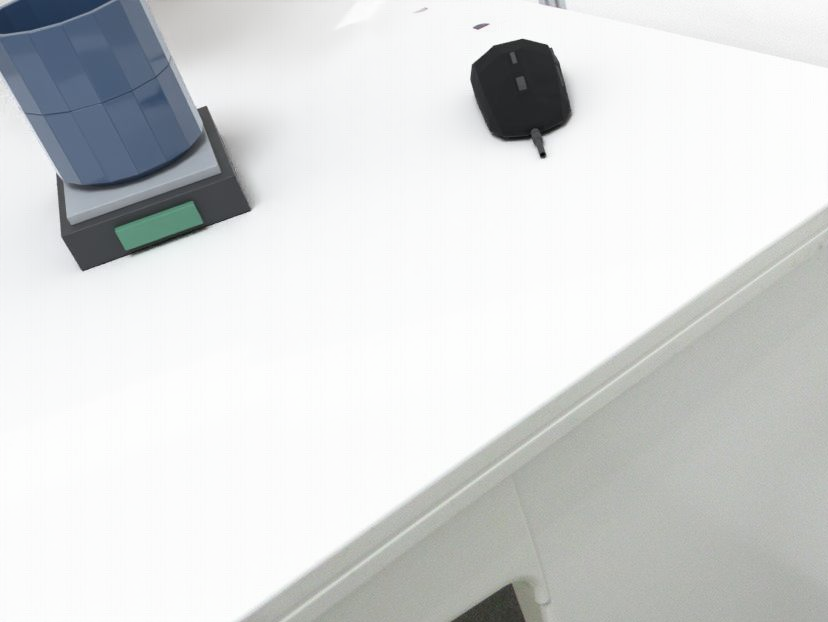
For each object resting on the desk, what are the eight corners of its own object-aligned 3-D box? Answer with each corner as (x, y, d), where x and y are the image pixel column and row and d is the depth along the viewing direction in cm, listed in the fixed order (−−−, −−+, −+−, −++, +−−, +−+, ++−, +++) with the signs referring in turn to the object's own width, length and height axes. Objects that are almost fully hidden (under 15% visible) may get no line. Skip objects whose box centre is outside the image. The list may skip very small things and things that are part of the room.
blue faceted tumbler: (35, 199, 69) (-58, 45, 63) (106, 131, 76) (29, -15, 70) (168, 185, 68) (86, 24, 61) (229, 116, 74) (161, -35, 68)
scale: (72, 188, 78) (49, 148, 76) (221, 137, 80) (202, 97, 78) (82, 275, 67) (55, 231, 65) (252, 213, 70) (232, 169, 68)
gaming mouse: (495, 170, 68) (478, 110, 66) (471, 84, 79) (456, 30, 77) (591, 145, 69) (578, 84, 66) (554, 63, 80) (542, 8, 77)
